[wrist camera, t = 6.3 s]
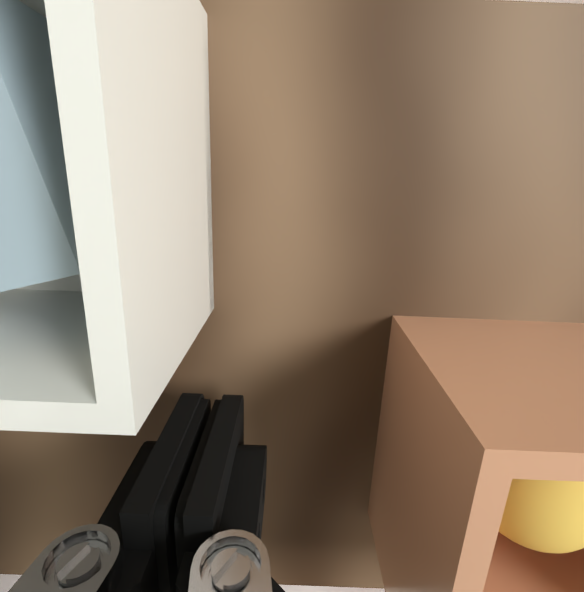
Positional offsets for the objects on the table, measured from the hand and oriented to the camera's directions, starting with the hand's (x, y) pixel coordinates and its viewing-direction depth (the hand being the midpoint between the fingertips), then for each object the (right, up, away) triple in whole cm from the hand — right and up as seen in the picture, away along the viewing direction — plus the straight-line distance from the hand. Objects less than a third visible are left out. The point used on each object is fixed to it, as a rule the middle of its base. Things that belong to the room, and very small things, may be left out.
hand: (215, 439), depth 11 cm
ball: (+8, 0, +1) cm, 8 cm away
